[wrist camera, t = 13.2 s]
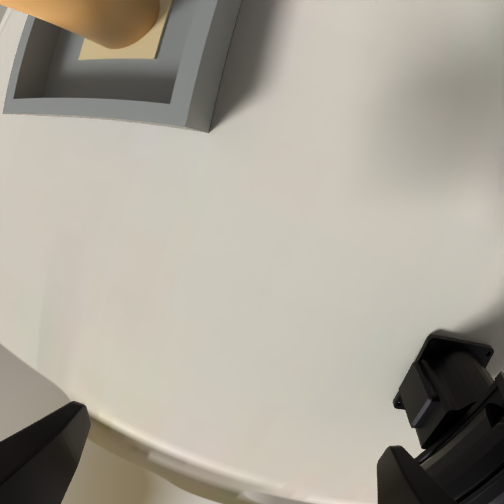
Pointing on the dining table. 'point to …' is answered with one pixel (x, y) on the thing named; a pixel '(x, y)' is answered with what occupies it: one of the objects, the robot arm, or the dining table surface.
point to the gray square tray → (128, 69)
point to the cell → (95, 18)
